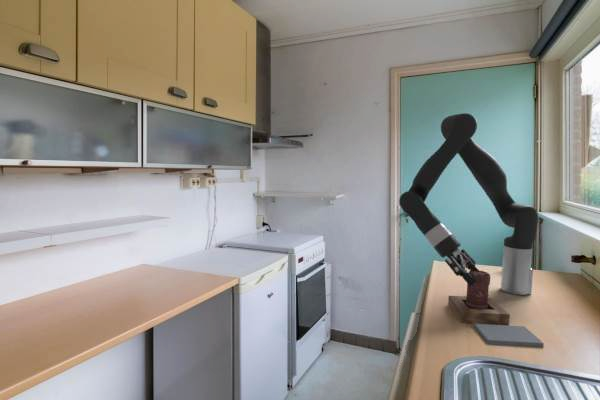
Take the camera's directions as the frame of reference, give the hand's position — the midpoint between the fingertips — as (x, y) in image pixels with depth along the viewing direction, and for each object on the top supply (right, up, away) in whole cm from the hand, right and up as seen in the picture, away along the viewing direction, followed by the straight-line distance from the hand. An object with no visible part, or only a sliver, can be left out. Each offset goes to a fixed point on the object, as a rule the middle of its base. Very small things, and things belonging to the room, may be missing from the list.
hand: (477, 280), depth 114 cm
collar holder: (0, -11, +1) cm, 11 cm away
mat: (+2, -12, -13) cm, 18 cm away
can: (0, -11, +1) cm, 11 cm away
